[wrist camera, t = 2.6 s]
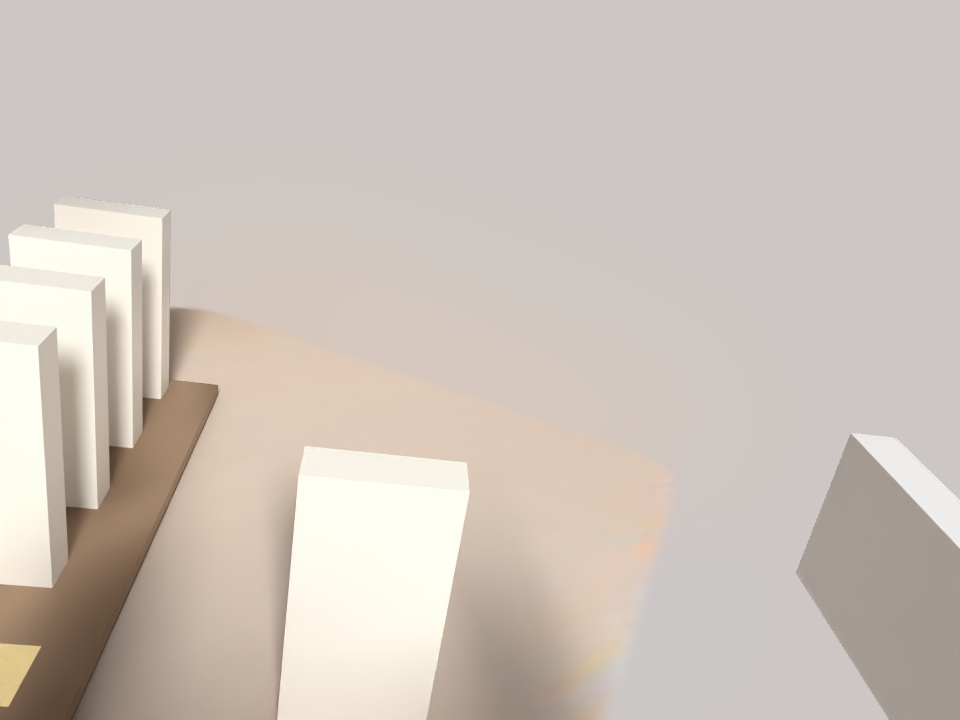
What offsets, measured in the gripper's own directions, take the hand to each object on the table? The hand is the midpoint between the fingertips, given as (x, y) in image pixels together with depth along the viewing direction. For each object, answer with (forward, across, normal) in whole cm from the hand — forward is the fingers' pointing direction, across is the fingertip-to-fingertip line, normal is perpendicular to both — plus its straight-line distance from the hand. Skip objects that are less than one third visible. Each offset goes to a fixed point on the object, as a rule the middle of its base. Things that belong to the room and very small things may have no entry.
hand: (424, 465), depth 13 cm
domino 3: (+21, -14, -16) cm, 30 cm away
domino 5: (+11, 0, -17) cm, 20 cm away
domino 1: (+31, -14, -16) cm, 38 cm away
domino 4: (+16, -14, -16) cm, 27 cm away
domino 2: (+26, -14, -16) cm, 34 cm away
